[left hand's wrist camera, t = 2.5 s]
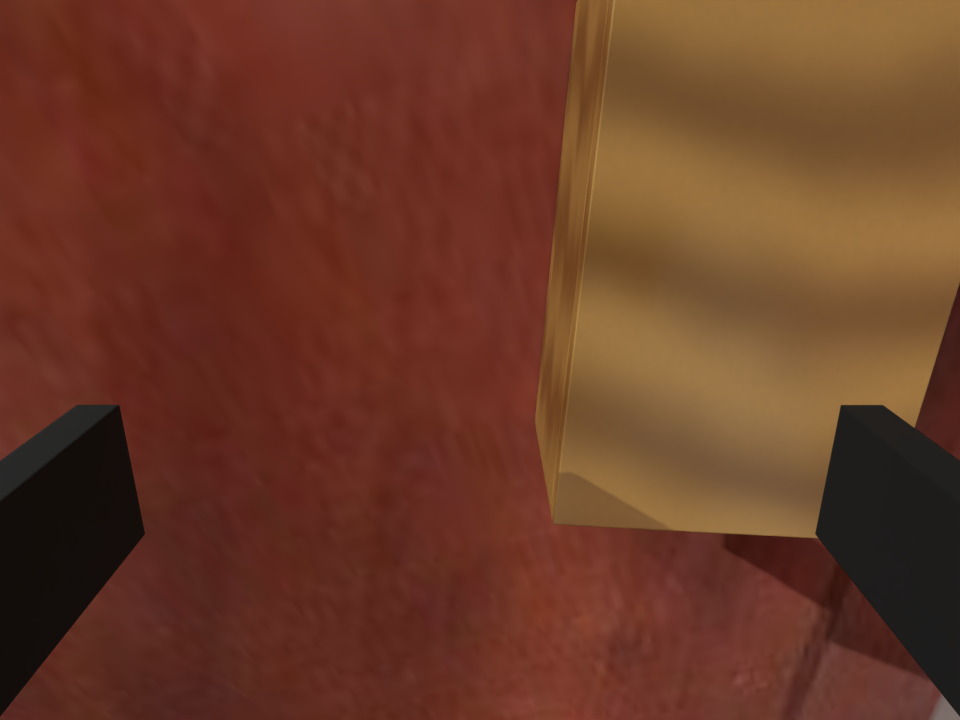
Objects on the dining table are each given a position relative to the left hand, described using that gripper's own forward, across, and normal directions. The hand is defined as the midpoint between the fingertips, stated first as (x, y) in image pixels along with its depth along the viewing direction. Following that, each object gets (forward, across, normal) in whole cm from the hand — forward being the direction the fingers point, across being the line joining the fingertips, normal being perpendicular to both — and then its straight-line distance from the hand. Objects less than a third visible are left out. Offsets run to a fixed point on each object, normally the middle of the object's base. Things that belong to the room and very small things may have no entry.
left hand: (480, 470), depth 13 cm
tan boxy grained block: (+16, -8, -1) cm, 18 cm away
